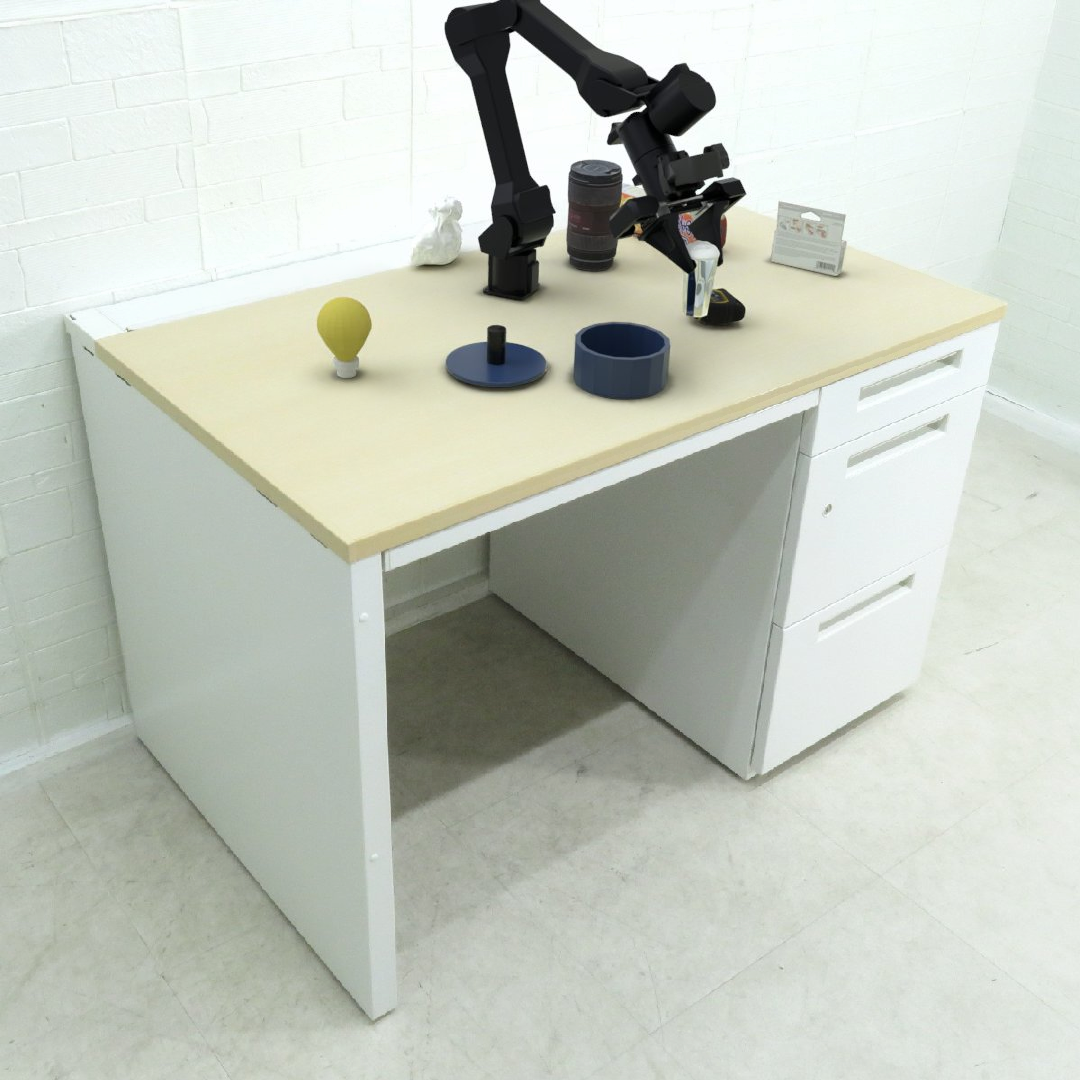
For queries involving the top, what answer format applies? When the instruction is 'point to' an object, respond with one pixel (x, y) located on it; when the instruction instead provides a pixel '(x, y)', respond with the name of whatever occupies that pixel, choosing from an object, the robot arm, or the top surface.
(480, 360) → the tin lid
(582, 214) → the camera lens
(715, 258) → the milkshake
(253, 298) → the top surface
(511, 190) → the robot arm
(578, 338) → the tin
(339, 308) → the light bulb
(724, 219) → the snack package
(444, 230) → the bust
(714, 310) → the tape measure
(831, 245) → the ink cartridge box
